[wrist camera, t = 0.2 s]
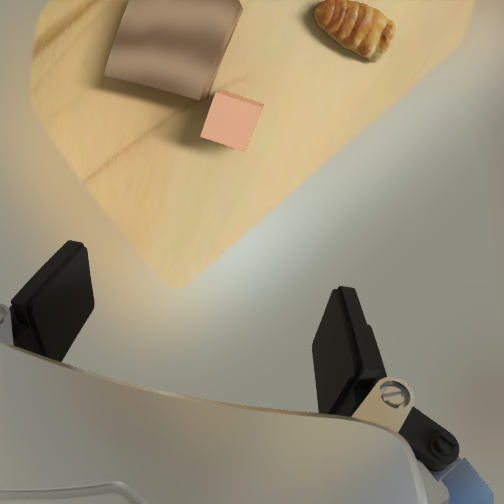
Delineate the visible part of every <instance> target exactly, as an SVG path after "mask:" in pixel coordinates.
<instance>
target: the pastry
mask: <svg viewBox="0 0 504 504" xmlns="http://www.w3.org/2000/svg"><path fill="white" fill-rule="evenodd" d="M314 16H315V19H316V22H317V25H318V26H319V27H321V28H322V29H323V30H324V31H326V32H327V33H328V35H329V36H330V37H332V38H333V39H334V40H336V41H337V42H338V43H339V44H341V45H342V46H343V47H344V48H345V49H348V50H352V51H354V52H356V53H357V54H359V55H361V56H363V57H365V58H367V59H368V60H369V61H371V62H374V63H375V62H378V61H379V60H380V59H381V58H382V57H383V55H384V53H385V52H386V51H387V50H388V48H389V46H390V44H391V42H392V41H393V39H394V33H395V31H396V27H395V24H394V22H393V21H391V20H389V19H388V18H387V17H386V16H385V15H384V14H382V13H381V12H380V11H379V10H377V9H374V8H372V7H369V6H368V5H366V4H364V3H359V2H356V1H349V0H325V1H323V2H320V3H319V4H318V5H317V7H316V9H315V11H314Z"/></svg>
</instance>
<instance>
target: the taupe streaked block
mask: <svg viewBox="0 0 504 504" xmlns="http://www.w3.org/2000/svg"><path fill="white" fill-rule="evenodd" d="M242 11H243V8H242V6H241V4H240V1H238V0H129V2H128V4H127V7H126V9H125V12H124V14H123V17H122V20H121V22H120V25H119V28H118V31H117V34H116V37H115V39H114V42H113V45H112V49H111V52H110V55H109V58H108V61H107V65H106V68H105V72H104V75H103V76H107V77H112V78H116V79H121V80H125V81H129V82H134V83H138V84H142V85H146V86H150V87H153V88H157V89H161V90H165V91H168V92H172V93H175V94H179V95H182V96H185V97H189V98H192V99H195V100H199V101H200V100H203V99H207V98H208V96H209V93H210V90H211V88H212V85H213V82H214V80H215V77H216V74H217V72H218V69H219V67H220V64H221V62H222V59H223V56H224V54H225V52H226V49H227V47H228V44H229V42H230V39H231V37H232V34H233V32H234V30H235V27H236V25H237V23H238V20H239V18H240V16H241V14H242Z"/></svg>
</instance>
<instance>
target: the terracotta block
mask: <svg viewBox="0 0 504 504" xmlns="http://www.w3.org/2000/svg"><path fill="white" fill-rule="evenodd" d="M263 106H264V104H262V103H259V102H256V101H253V100H251V99H248V98H245V97H242V96H239V95H236V94H233V93H230V92H227V91H219V92H216V93H215V95H214V98H213V101H212V104H211V106H210V109H209V112H208V115H207V118H206V121H205V124H204V127H203V130H202V133H201V136H200V137H203V138H206V139H209V140H212V141H215V142H217V143H220V144H223V145H226V146H229V147H232V148H235V149H238V150H240V151H243V152H246V149H247V147H248V144H249V142H250V139H251V136H252V134H253V131H254V129H255V126H256V124H257V121H258V119H259V116H260V114H261V111H262V109H263Z"/></svg>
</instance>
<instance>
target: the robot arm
mask: <svg viewBox="0 0 504 504" xmlns="http://www.w3.org/2000/svg"><path fill="white" fill-rule="evenodd" d="M11 304H12V306H11V307H10V308H8V307H7V306H6V305H4V304H0V504H493V503H494V496H493V492H492V490H491V489H490V487H489V486H488V485H487V484H486V483H485V481H484V480H483V479H482V478H481V476H480V475H479V474H478V473H477V472H476V470H475V469H474V468H473V467H472V466H471V464H470V463H469V462H468V461H467V460H466V458H463V459H461V458H460V457H459V456H458V455H459V445H458V442H457V440H456V439H455V437H454V436H453V435H452V434H451V433H450V432H448V431H447V430H446V429H444V428H443V427H441V426H440V425H438V424H437V423H436V422H434V421H433V420H431V419H430V418H429V417H427V416H426V415H424V414H423V413H421V412H420V411H419V410H417V409H416V408H415V407H413V404H414V393H413V391H412V389H411V388H410V387H409V385H408V384H406V383H405V382H404V381H402V380H400V379H398V378H393V377H387V375H386V371H385V368H384V365H383V362H382V358H381V355H380V352H379V349H378V346H377V343H376V340H375V336H374V333H373V331H372V328H371V326H370V325H367V323H366V320H365V317H364V314H363V311H362V308H361V305H360V302H359V299H358V296H357V293H356V291H355V289H354V288H351V287H344V286H339V287H338V289H334V290H333V291H332V293H331V296H330V298H329V301H328V304H327V306H326V309H325V312H324V315H323V317H322V320H321V322H320V325H319V328H318V330H317V333H316V335H315V338H314V341H313V344H312V353H313V362H314V371H315V380H316V389H317V399H318V409H319V413H312V412H300V411H289V410H280V409H272V408H262V407H254V406H247V405H239V404H233V403H226V402H220V401H213V400H207V399H202V398H197V397H191V396H186V395H181V394H176V393H171V392H167V391H162V390H158V389H153V388H149V387H145V386H141V385H137V384H133V383H129V382H125V381H121V380H118V379H114V378H110V377H107V376H103V375H100V374H96V373H93V372H90V371H86V370H83V369H80V368H77V367H73V366H71V365H67V364H65V363H62V360H63V358H64V357H65V355H66V353H67V352H68V350H69V348H70V347H71V345H72V343H73V341H74V340H75V338H76V337H77V335H78V333H79V332H80V330H81V328H82V327H83V325H84V323H85V322H86V321H87V319H88V317H89V316H90V314H91V313H92V311H93V309H94V296H93V290H92V283H91V277H90V268H89V260H88V252H87V248H86V247H84V245H83V243H81V242H76V241H71V240H69V241H67V242H66V243H65V244H64V245H63V246H62V247H61V248H60V249H59V250H58V251H57V252H56V253H55V254H54V255H53V256H52V257H51V258H50V259H49V260H48V261H47V262H46V263H45V264H44V265H43V266H42V267H41V268H40V269H39V270H38V271H37V273H36V274H35V275H34V276H33V277H32V278H31V279H30V280H29V281H28V282H27V283H26V284H25V285H24V287H23V288H22V289H21V290H20V291H19V292H18V293H17V294H16V295H15V297H14V298H13V299H12V300H11Z"/></svg>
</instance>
